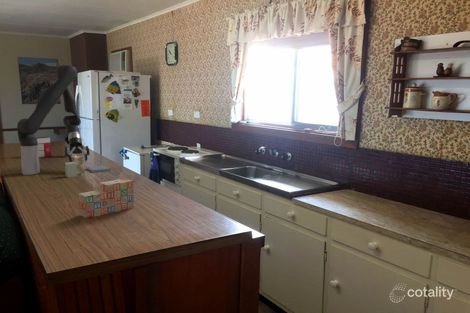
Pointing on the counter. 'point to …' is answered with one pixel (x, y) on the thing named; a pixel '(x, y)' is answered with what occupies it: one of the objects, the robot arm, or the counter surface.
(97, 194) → the stack of blocks
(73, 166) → the sage block
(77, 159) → the birch block
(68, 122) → the robot arm
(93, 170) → the slate board
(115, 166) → the counter surface
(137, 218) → the counter surface
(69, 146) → the glass holder
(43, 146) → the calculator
